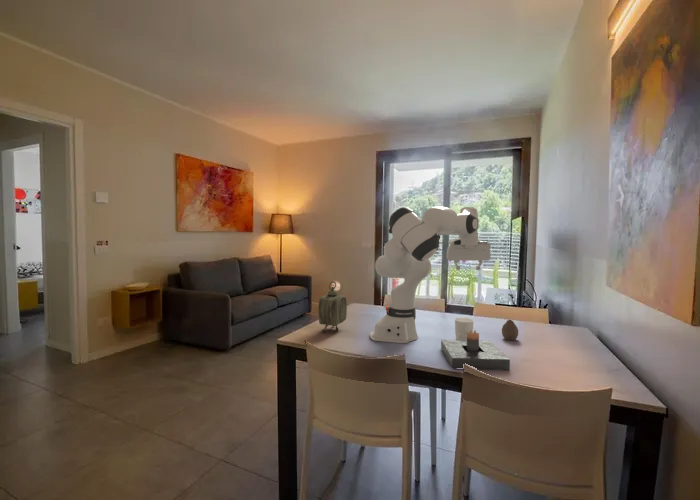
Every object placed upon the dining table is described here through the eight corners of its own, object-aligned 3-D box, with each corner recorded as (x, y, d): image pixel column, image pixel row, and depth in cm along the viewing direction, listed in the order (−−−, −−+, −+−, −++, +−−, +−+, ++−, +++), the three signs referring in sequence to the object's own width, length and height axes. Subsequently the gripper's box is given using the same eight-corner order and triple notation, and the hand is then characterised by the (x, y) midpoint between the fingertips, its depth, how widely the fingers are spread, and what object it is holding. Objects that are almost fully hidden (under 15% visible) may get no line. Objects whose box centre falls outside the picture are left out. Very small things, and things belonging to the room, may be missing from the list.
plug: (468, 360, 123) (468, 332, 123) (465, 356, 128) (465, 328, 127) (480, 361, 123) (480, 332, 122) (476, 356, 127) (477, 328, 127)
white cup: (472, 339, 147) (473, 318, 147) (473, 345, 140) (473, 323, 139) (454, 338, 150) (455, 317, 149) (454, 343, 142) (454, 321, 142)
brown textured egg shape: (520, 342, 144) (520, 322, 144) (503, 341, 145) (504, 322, 145) (515, 337, 151) (516, 318, 150) (499, 336, 152) (500, 318, 152)
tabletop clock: (332, 325, 171) (332, 279, 170) (347, 327, 168) (347, 280, 166) (318, 333, 158) (318, 282, 157) (334, 335, 154) (334, 284, 153)
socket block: (452, 368, 116) (452, 358, 116) (441, 349, 136) (441, 339, 136) (509, 370, 114) (509, 359, 114) (489, 350, 134) (490, 340, 134)
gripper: (488, 241, 157) (487, 269, 158) (445, 241, 159) (445, 269, 160) (492, 241, 151) (492, 270, 152) (448, 241, 153) (448, 270, 154)
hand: (468, 269), depth 156 cm, fingers open, 8 cm apart
